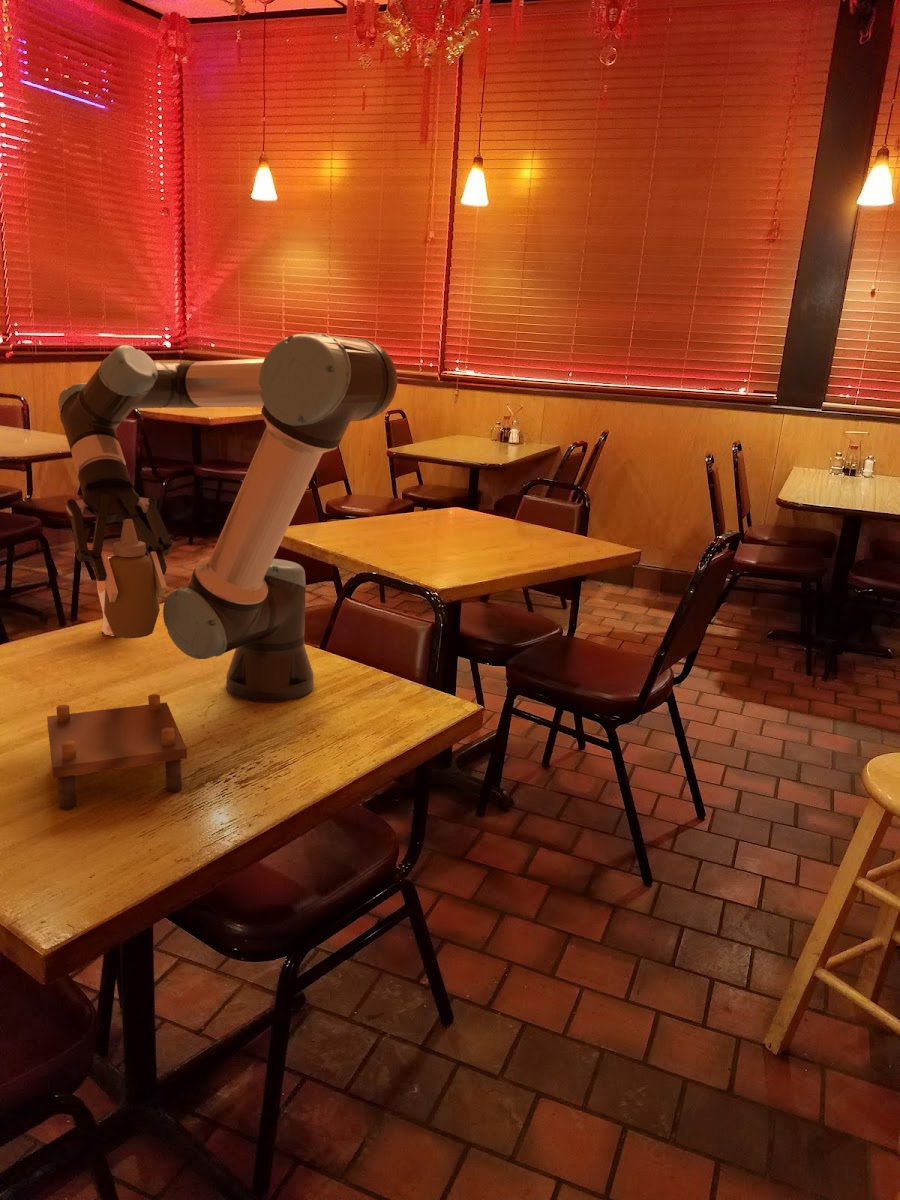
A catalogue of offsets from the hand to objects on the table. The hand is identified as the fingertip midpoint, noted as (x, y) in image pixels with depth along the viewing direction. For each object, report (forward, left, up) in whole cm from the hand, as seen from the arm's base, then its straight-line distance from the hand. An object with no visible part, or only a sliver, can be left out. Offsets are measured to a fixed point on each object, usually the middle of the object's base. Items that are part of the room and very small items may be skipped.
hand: (138, 594), depth 126 cm
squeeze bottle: (+2, -3, -7) cm, 8 cm away
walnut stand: (0, +17, -21) cm, 27 cm away
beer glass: (+15, -44, -21) cm, 51 cm away
